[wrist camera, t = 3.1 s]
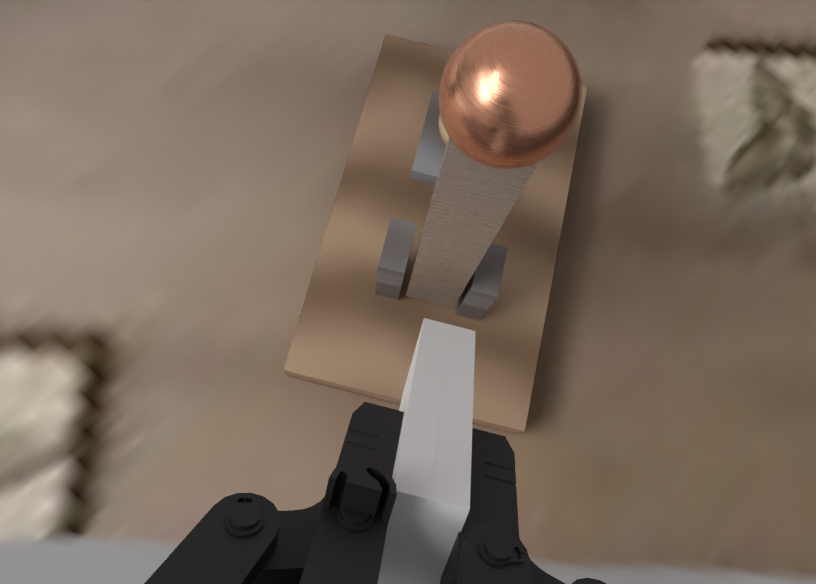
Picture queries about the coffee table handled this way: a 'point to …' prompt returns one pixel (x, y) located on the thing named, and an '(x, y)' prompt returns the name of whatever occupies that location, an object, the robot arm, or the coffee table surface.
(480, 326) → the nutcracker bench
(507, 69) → the lever
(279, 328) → the coffee table surface
